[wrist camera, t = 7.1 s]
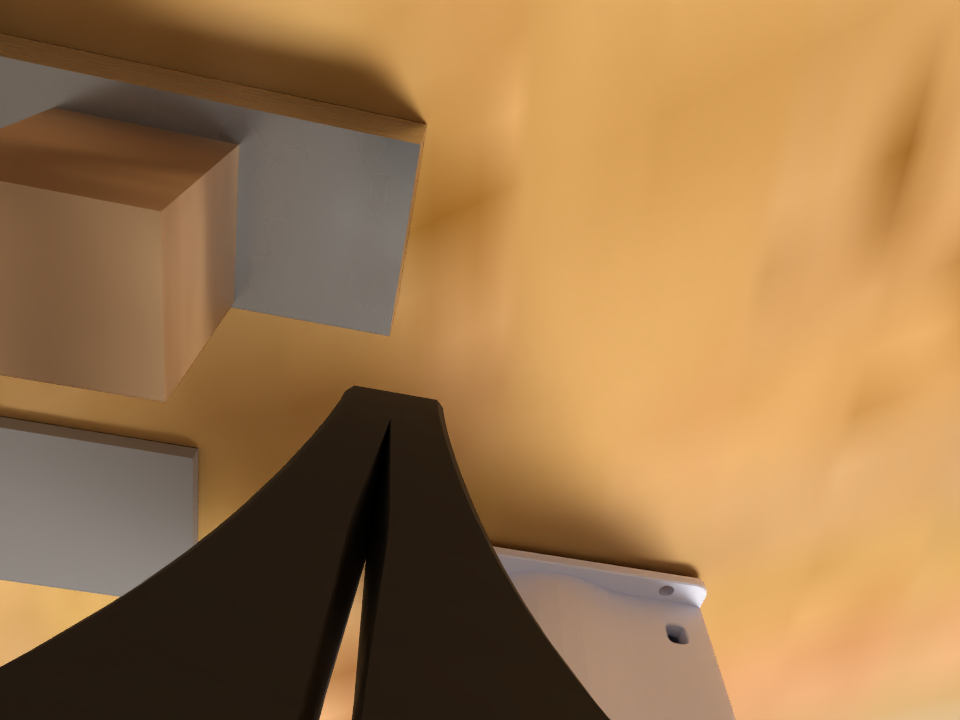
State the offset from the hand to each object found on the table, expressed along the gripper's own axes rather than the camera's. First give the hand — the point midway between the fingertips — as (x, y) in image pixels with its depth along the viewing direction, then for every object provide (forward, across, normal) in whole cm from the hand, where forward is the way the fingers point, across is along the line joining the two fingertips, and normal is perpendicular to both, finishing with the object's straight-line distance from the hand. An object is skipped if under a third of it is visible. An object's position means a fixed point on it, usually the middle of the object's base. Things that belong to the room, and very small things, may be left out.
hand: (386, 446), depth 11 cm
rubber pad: (+10, +10, +12) cm, 18 cm away
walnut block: (+8, +6, 0) cm, 10 cm away
